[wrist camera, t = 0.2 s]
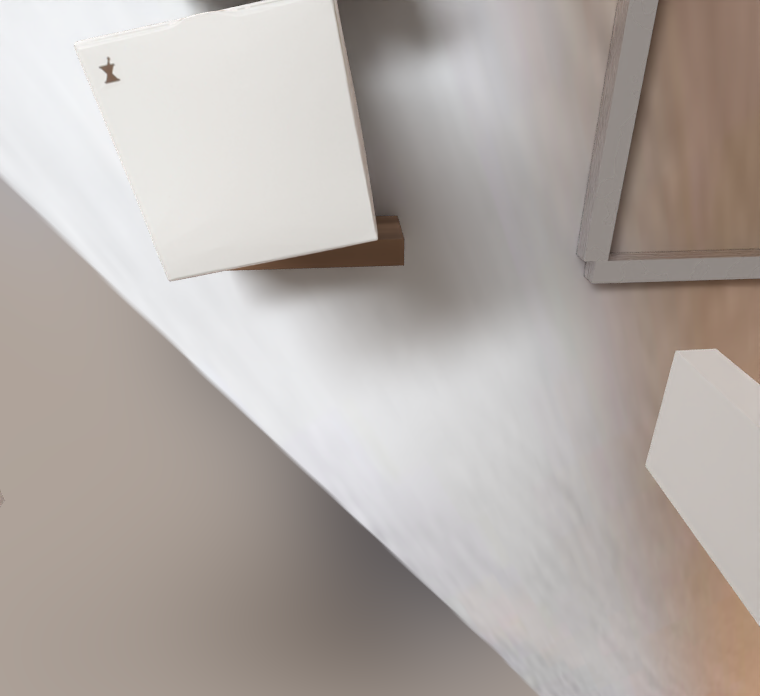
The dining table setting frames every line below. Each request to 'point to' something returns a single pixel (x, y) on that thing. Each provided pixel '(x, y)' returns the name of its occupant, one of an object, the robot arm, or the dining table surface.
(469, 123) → the dining table surface
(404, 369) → the dining table surface
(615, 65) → the gray rectangular frame
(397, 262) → the wooden blocks
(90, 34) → the dining table surface
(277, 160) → the supplement box
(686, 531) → the dining table surface
